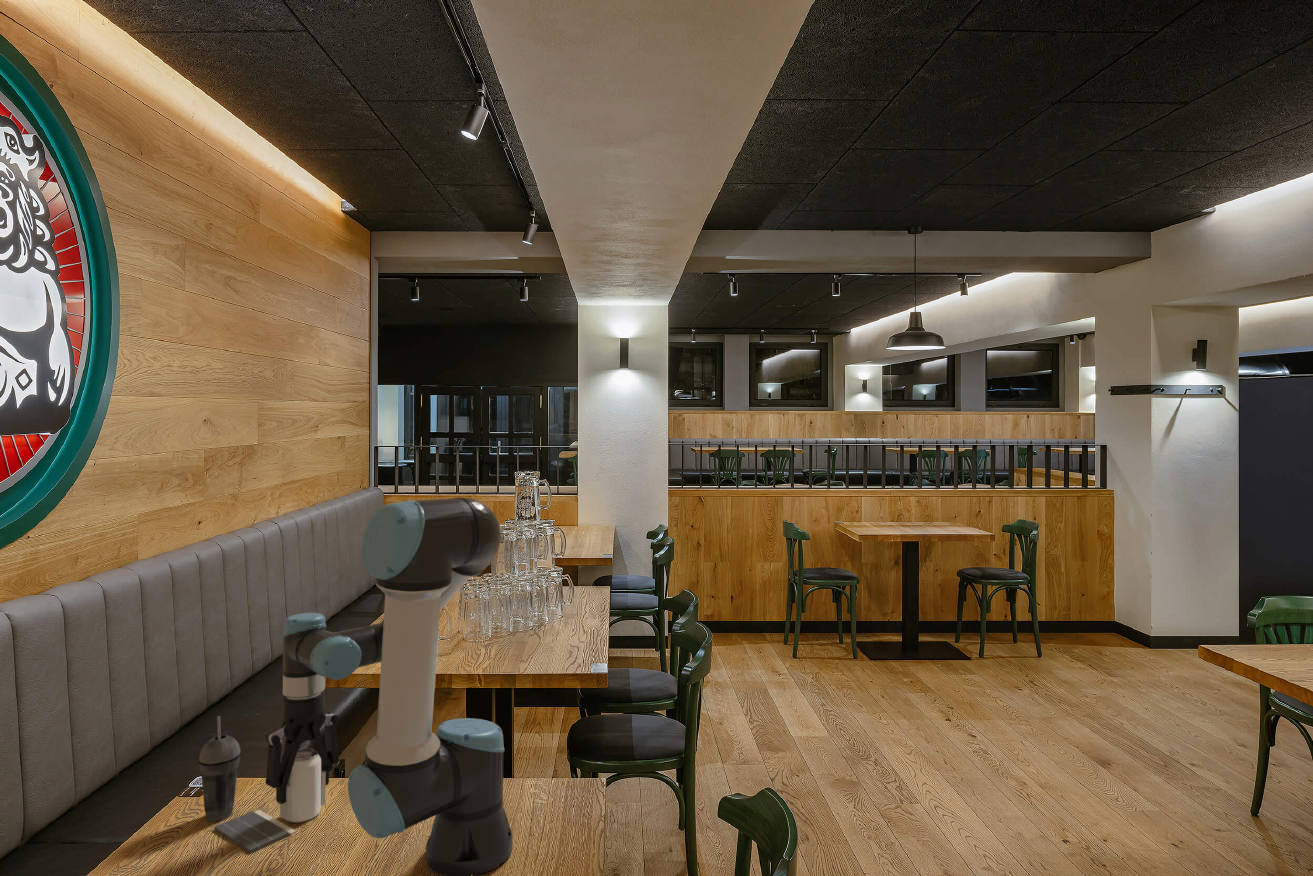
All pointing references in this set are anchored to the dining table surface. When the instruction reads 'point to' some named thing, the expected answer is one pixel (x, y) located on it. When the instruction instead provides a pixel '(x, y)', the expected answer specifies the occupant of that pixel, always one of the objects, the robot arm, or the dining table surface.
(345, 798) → the dining table surface
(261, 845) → the dark grey flat slab
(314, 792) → the can
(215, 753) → the beverage cup
